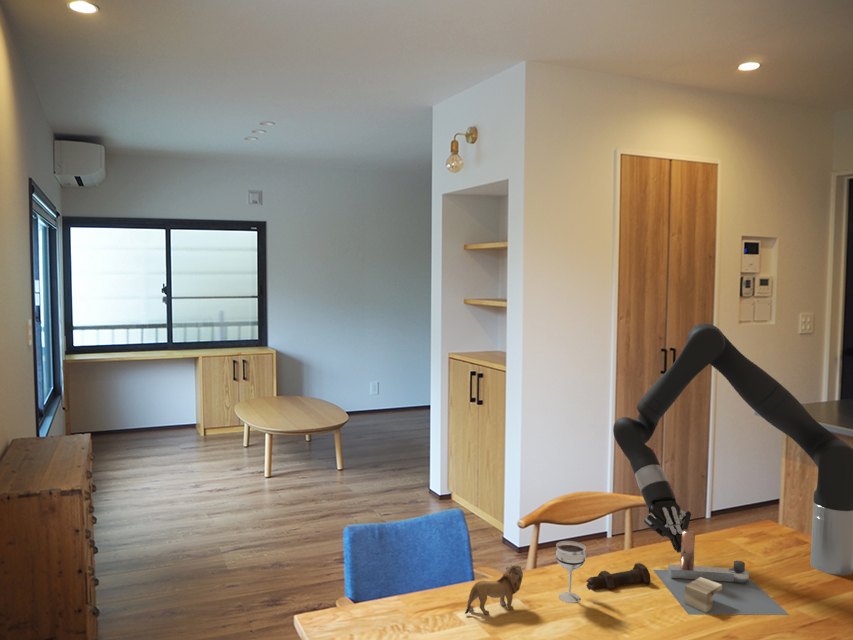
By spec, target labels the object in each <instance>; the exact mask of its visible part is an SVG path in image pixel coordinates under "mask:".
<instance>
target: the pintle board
mask: <svg viewBox="0 0 853 640" xmlns="http://www.w3.org/2000/svg"><path fill="white" fill-rule="evenodd" d="M733 567H734V570H735V571H737V572H744V571H745V570H746V568H745V567H746V563H745V562H744V561H741V560H734V561H733ZM653 572H654V573H655V574H656V576H657V577H658V579H660V581H661V582H662V584H664V586H665V587H666V588H667V590H669V592H670V593H671V595H672V596H673V597H674V598H675V600H676V601H677V602H678V603H679V604H680V606H681V607H682V609H683V610H684V611H685V612H686V613H687V614H688V615H716V616H717V615H719V616H720V615H726V616H727V615H728V616H729V615H733V616H734V615H735V616H737V615H742V616H743V615H745V616H747V615H750V616H755V615H756V616H759V615H760V616H765V615H767V616H768V615H769V616H770V615H774V616H776V615H777V616H779V615H780V616H782V615H783V616H789V615H790V614H789V613H788V612H787V611H786V609H785V608H783V607H782V606H780V605H779V604H778V603H777V602H776V600H774V599H773V598H772V597H771V596H770V595H769V594H768V593H766V592H765V591H764V589H762V588H761V587H760V586H759V585H758V584H756V582H755V581H753V580H752V579H751V578H750V577H749V582H748V583H745V584H741V583H736V582H730V581H714V580H711V581H713V582H716V583H719V584H722V590H721V591H719V592H718V593H716V594H714V595H713V608H712V609H710V610H709V611H707V612H704V611H701V610H699V609H696V608H694V607H691V606H689V605H686V604H684V599H685V586H686V585H687V584H689V583H691V582H693V581H694V580H696V579H684V578H671V577H670V575H669V573H668V569H653Z"/></svg>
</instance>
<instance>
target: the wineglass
mask: <svg viewBox="0 0 853 640" xmlns="http://www.w3.org/2000/svg"><path fill="white" fill-rule="evenodd" d="M555 546H556V551H555V559H556V561H557V563H558V564H559V566H561V567H562V568H564V569H566V571H568V573H567V574H568V576H567V577H568V592H561V593H559V594H558V599H560V600H561V601H562V602H564V603H568V604H569V603H570V604H571V603H572V604H574V603H579V602H580V601H581V596H580V595H578V594H576V593H573V592H571V589H572V578H573V577H572V575H573V572H574V570H578V569H580V568H582V566H583V565H585V562H586V557H587V556H586V552H585V551H586V549H587V547H586V546H585V544H582V543H580V542H579V541H574V540H573V541H572V540H564V541H563V540H562V541H558V542H557V543H556V545H555Z"/></svg>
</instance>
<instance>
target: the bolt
mask: <svg viewBox="0 0 853 640" xmlns="http://www.w3.org/2000/svg"><path fill="white" fill-rule="evenodd" d="M585 581H586V582H587V583H586V588H587V589H588V590H589V591H591V590H592V591H596V590H603V589H606V590H607V591H608V590H613V589H615V587H621V586H630V585H637V584H639V585H640V584H642V585H650V584H651V573H650V571H649V569H648V568H647V566H646V565H645V564H644V563H642V562H641V563H640V562H636V563H635V564H634V566H633V567H632V569H630V570H625V571H619V572H614V573H610V572H609V571H606V570H601V571H599V573H598V574H597V576H596V575H595V576H591V577H589V578H587V579H586V580H585Z"/></svg>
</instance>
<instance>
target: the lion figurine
mask: <svg viewBox="0 0 853 640" xmlns="http://www.w3.org/2000/svg"><path fill="white" fill-rule="evenodd" d="M523 576H524V573H523V570H522V566H521V565H519V564H516V563H511V564H508V565H507V566H506V567H505V572H504V573H502V576H501V577H500V578H499V579H497V580H485V579H482V580H481V579H480V580H478V581H476V582H475V583H474V584H473V585H472V587H471V590H470V593H469V596H468V600H467V605H466V610H465V612H464V614H465V615H466V614H469V611H473V610H474V606H472V603H473V602H474V601H475V600H476V599H478V600H479V609H480V610H481V612H482V614H484V615H485V614H489V615H490V611H489V610H487V609H486V608H485V606H486V602H487V600H488V597H490V598H493V599H494V598H495V599H496V598H497V599H498V598H500V599H499V604H500V605H501V606H506V607H507V609H508V611H509V610H510V611H514V606H513V605H512V602H513V598H514V596H513V595H515V594H516V593H518V591H519V590H520V589H521V584H522V583H523V582H522V581H523ZM505 598H506V601H505Z"/></svg>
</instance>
